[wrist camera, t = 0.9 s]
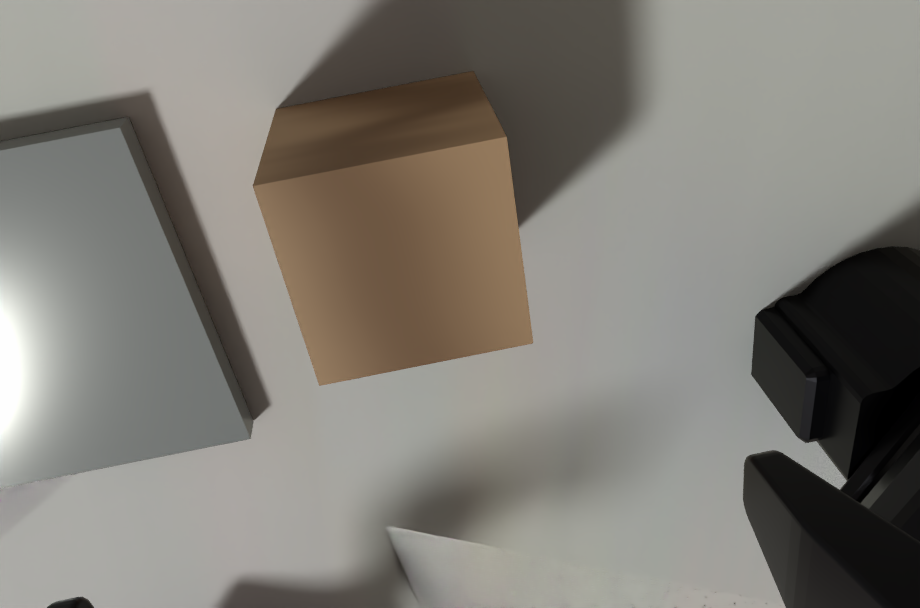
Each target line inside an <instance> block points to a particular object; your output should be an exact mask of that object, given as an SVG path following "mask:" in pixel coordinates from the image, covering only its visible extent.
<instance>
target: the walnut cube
mask: <svg viewBox="0 0 920 608" xmlns="http://www.w3.org/2000/svg"><path fill="white" fill-rule="evenodd" d="M253 188H254V191H255V194H256V197H257V200H258V203H259V206H260V209H261V212H262V215H263V218H264V221H265V224H266V227H267V230H268V233H269V236H270V239H271V242H272V245H273V248H274V251H275V254H276V257H277V260H278V263H279V266H280V269H281V272H282V275H283V278H284V281H285V284H286V287H287V290H288V293H289V296H290V299H291V302H292V305H293V308H294V311H295V314H296V317H297V320H298V323H299V326H300V329H301V332H302V335H303V338H304V341H305V344H306V347H307V350H308V353H309V356H310V359H311V362H312V365H313V368H314V371H315V374H316V377H317V380H318V383H319V386H321V385H326V384H331V383H336V382H341V381H346V380H351V379H356V378H361V377H366V376H371V375H376V374H381V373H386V372H391V371H396V370H401V369H406V368H411V367H416V366H421V365H426V364H431V363H436V362H441V361H446V360H451V359H456V358H461V357H466V356H471V355H476V354H482V353H487V352H492V351H497V350H502V349H507V348H512V347H517V346H522V345H527V344H532V343H533V337H532V330H531V322H530V314H529V306H528V298H527V291H526V283H525V275H524V267H523V259H522V252H521V244H520V236H519V228H518V220H517V213H516V205H515V197H514V189H513V182H512V174H511V166H510V158H509V150H508V143H507V136H506V134H505V132H504V130H503V128H502V126H501V124H500V122H499V121H498V119H497V117H496V115H495V113H494V111H493V109H492V107H491V105H490V103H489V101H488V99H487V97H486V95H485V93H484V91H483V89H482V87H481V85H480V83H479V81H478V79H477V77H476V75H475V73H474V71H470V72H465V73H460V74H455V75H450V76H444V77H439V78H434V79H429V80H424V81H419V82H413V83H408V84H403V85H398V86H393V87H387V88H382V89H377V90H372V91H367V92H361V93H356V94H351V95H346V96H341V97H335V98H330V99H325V100H320V101H315V102H309V103H304V104H299V105H294V106H289V107H283V108H278V109H276V111H275V114H274V117H273V121H272V124H271V127H270V131H269V134H268V137H267V141H266V144H265V147H264V151H263V154H262V157H261V161H260V164H259V167H258V171H257V174H256V177H255V181H254V184H253Z"/></svg>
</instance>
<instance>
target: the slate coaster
mask: <svg viewBox="0 0 920 608" xmlns="http://www.w3.org/2000/svg"><path fill="white" fill-rule="evenodd" d="M252 428H253V419H252V417H251V414H250V412H249V409H248V407H247V405H246V402H245V400H244V397H243V395H242V392H241V390H240V387H239V385H238V383H237V380H236V378H235V375H234V373H233V370H232V368H231V366H230V363H229V361H228V358H227V356H226V353H225V351H224V348H223V346H222V344H221V341H220V339H219V336H218V334H217V331H216V329H215V326H214V324H213V322H212V319H211V317H210V314H209V312H208V309H207V307H206V305H205V302H204V300H203V297H202V295H201V292H200V290H199V287H198V285H197V283H196V280H195V278H194V275H193V273H192V270H191V268H190V265H189V263H188V261H187V258H186V256H185V253H184V251H183V248H182V246H181V244H180V241H179V239H178V236H177V234H176V231H175V229H174V226H173V224H172V222H171V219H170V217H169V214H168V212H167V209H166V207H165V204H164V202H163V200H162V197H161V195H160V192H159V190H158V187H157V185H156V183H155V180H154V178H153V175H152V173H151V170H150V168H149V165H148V163H147V161H146V158H145V156H144V153H143V151H142V148H141V146H140V143H139V141H138V139H137V136H136V134H135V131H134V129H133V126H132V124H131V122H130V119H129V117H126V118H120V119H115V120H110V121H105V122H99V123H94V124H89V125H84V126H79V127H73V128H68V129H63V130H58V131H53V132H47V133H42V134H37V135H32V136H27V137H21V138H16V139H11V140H6V141H1V142H0V489H1V488H6V487H11V486H16V485H21V484H26V483H31V482H36V481H41V480H46V479H51V478H56V477H62V476H67V475H72V474H77V473H82V472H87V471H92V470H97V469H102V468H107V467H112V466H117V465H122V464H127V463H132V462H137V461H142V460H147V459H152V458H157V457H162V456H167V455H172V454H177V453H182V452H187V451H192V450H197V449H202V448H207V447H212V446H217V445H222V444H227V443H232V442H237V441H242V440H247V439H251V433H252Z"/></svg>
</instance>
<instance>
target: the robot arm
mask: <svg viewBox="0 0 920 608" xmlns="http://www.w3.org/2000/svg"><path fill="white" fill-rule="evenodd" d="M751 375H752V376H753V377H754V379H755V380H756V382H757V383H758V384H759V386H760V387H761V388H762V390H763V391H764V392H765V394H766V395H767V397H768V398H769V399H770V401H771V402H772V403H773V405H774V406H775V407H776V409H777V410H778V411H779V413H780V414H781V416H782V417H783V418H784V420H785V421H786V422H787V424H788V425H789V426H790V428H791V429H792V431H793V432H794V433H795V435H796V436H797V437H798V438H799V439H801V440H802V441H804V442H805V443H809V442H814V441H817V442H818V444H819V445H820V446H821V447H822V449H823V450H824V451H825V453H826V454H827V455H828V457H829V458H830V459H831V461H832V462H833V463H834V465H835V466H836V467H837V468H838V470H839V471H840V472H841V474H842V475H843V476H844V478H845V479H846V480H847V482H846V483H845V484H844V485H843V486H842V488H841V489H840V490H839V489H837V488H836V487H834V486H833V485H831V484H829V483H828V482H826V481H825V480H823V479H822V478H820V477H819V476H817V475H816V474H814V473H812V472H811V471H809V470H808V469H806V468H805V467H803V466H802V465H800V464H798V463H797V462H795V461H794V460H792V459H791V458H789V457H788V456H786V455H784V454H783V453H781V452H779V451H775V450H772V451H766V452H762V453H757V454H752V455H749V456H748V457H747V458H746V460H745V463H744V485H743V502H744V507H745V510H746V514H747V516H748V519H749V521H750V523H751V526H752V528H753V531H754V533H755V535H756V538H757V540H758V542H759V545H760V547H761V550H762V552H763V554H764V557H765V559H766V561H767V564H768V566H769V568H770V571H771V573H772V576H773V578H774V580H775V583H776V585H777V587H778V590H779V592H780V595H781V597H782V599H783V602H784V604H785V606H786V608H920V250H916V249H912V248H908V247H885V248H877V249H873V250H869V251H866V252H862V253H859V254H857V255H855V256H852V257H850V258H847V259H845V260H843V261H842V262H840V263H838V264H836V265H835V266H833V267H831V268H830V269H828V270H827V271H826V272H824V273H823V274H822V275H820V276H819V277H818V278H816V279H815V280H814V281H813V282H812V283H811V284H810V285H809V286H808V287H807V288H806V289H805V290H804V291H803V292H802V293H800V294H798V295H794V296H789V297H784V298H782V299H779V300H778V301H777V302H776V304H775V307H773V308H767V309H762V310H761V311H760V312H759V313H758V314H757V315H756V316H755V330H754V344H753V358H752V372H751ZM47 608H94V607H93V605H92V604H91V603H90V601H89V600H88V599H86V598H84V597H76V598H71V599H66V600H61V601H57V602H54V603H52V604H51V605H49V606H48V607H47Z"/></svg>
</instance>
